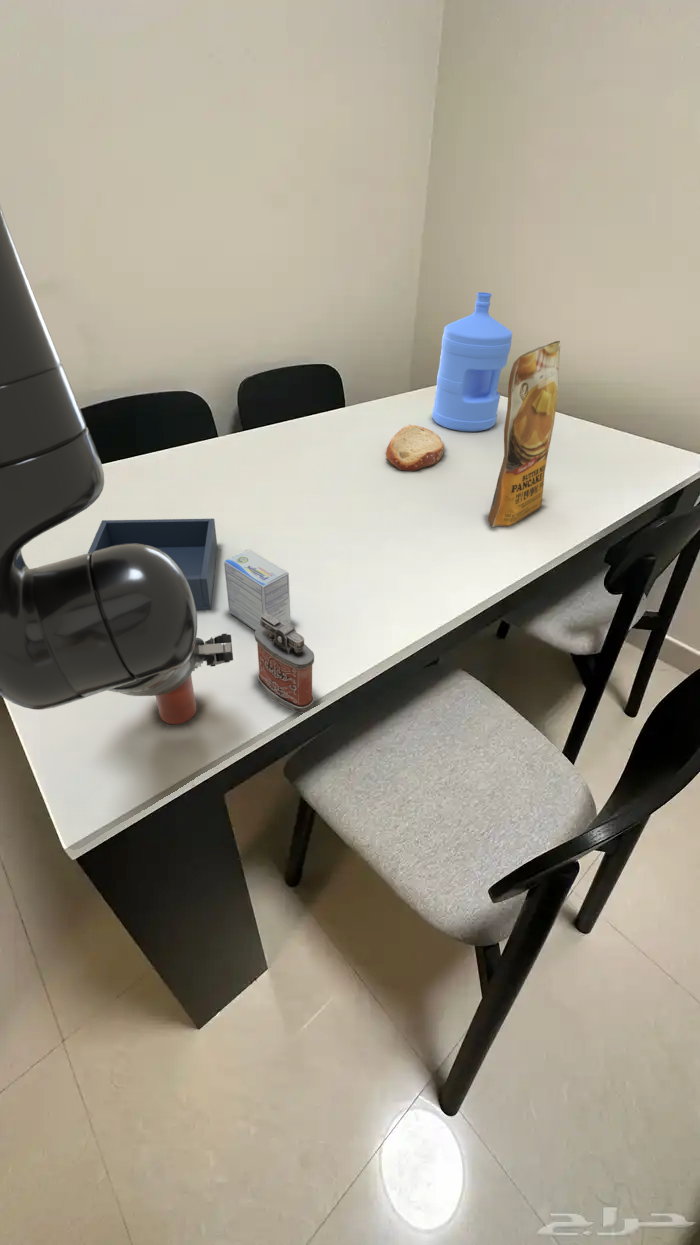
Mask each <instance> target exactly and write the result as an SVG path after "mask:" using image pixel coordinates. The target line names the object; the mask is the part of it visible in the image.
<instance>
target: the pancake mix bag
mask: <svg viewBox="0 0 700 1245" xmlns="http://www.w3.org/2000/svg"><path fill="white" fill-rule="evenodd" d="M560 343H561V341H560V340H555V341H553V342H550V343H548V344H546V345H542V346H538V347H536V348H534V349H532V350H529V351H527V352H525V353H524V354H522V355H520V356H519V357H518V358H517V359H516V360H515V361H513V363H512V367H511V370H510V372H509V373H510V374H509V378H508V387H507V389H508V391H507V407H506V414H505V419H504V420H505V421H504V428H503V459H502V463H501V466H500V470H499V475H498V478H497V482H496V485H495V490H494V494H493V498H492V502H491V506H490V508H489V509H490V510H489V513H488V517H487V518H488V519H487V522H488V523H489V525H490V526H491V528H496V527H507V528H508V527H510V526H512V525H515V524H517V523H518V522H520V521H521V520H523V519H524V518H526V517H528V516H529V515H530V514H533V513H534V512H536V511H537V510H539V509H540V508H541V507H542V501H543V496H544V495H543V494H544V485H545V475H546V474H545V473H546V467H547V463H548V462H547V461H548V455H549V450H550V446H551V443H552V442H551V441H552V435H553V430H554V426H555V418H556V411H557V406H558V396H559V382H560V380H559V378H560V377H559V373H560V372H559V370H560V352H561V351H560V350H561V345H560Z"/></svg>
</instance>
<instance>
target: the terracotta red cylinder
mask: <svg viewBox="0 0 700 1245" xmlns="http://www.w3.org/2000/svg"><path fill="white" fill-rule="evenodd" d="M155 700H156V704H157V709H158V714H159V717H160V719H161V720H162V721H163V722H164V723H166V724H169V725H180V724H185V723H186V722H188V721H189V720H191V719H192V718H193V717H194V716H195V715H196V713H197V702H196V696H195V689H194V684H193V678H192V674H191V675H190V676H189V678H188V679H187V680H186V681H185V682H184V683H183V684H182V685H181V686H179V687H178V688H176V689H175V690H173V691H171V692H168V693H166V694H162V695H157V696H155Z"/></svg>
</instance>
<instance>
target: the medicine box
mask: <svg viewBox="0 0 700 1245" xmlns="http://www.w3.org/2000/svg"><path fill="white" fill-rule="evenodd" d="M223 566H224V575H225V576H224V577H225V584H226V585H225V586H226V593H227V602H228V611H229V614H231V615H233V616H234V617H235V618H237V619H238V620H239V621H241V622H242V623H244V624H245V625H247V626H248V627H250V628H251V629H252V630H254V631H256V630H257V629H258V628H260V627H262V626H261V625H260V617H261V616H262V615H264V614H269V615H270V616H272V617H274V618H275V619H277V620H278V621H280V622H281V623H283V624H284V625H286V624H288V623H290V624H291V625H292V619H291V596H290V574H289V572H288V571H287V570H285V569H283V568H282V567H280V566H278V565H277V564H275V563H274V562H272V561H270V560H268V559H267V558H265V557H263V556H262V555H260V554H259V553H257V552H255V551H254V550H252V549H246V550H244V551H241V552H239V553H238V554H235V555H233V556H231V557H228V558H227V559H225V560H224V561H223Z"/></svg>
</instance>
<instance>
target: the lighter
mask: <svg viewBox="0 0 700 1245" xmlns="http://www.w3.org/2000/svg"><path fill="white" fill-rule="evenodd" d="M260 625H261V626H262V627H260V628H258V629H257V630H254V631H255V632H254V639H255V642H256V645H257V659H258V675H257V683H258V686H260V687H261V689H262V690H263V692H265V693H266V694H267V695H268V696H269V697H270V698H271V699H273V700H274V701H275V702H277V703H279V704H280V705H282V706H284V707H285V708H287V709H289V710H291V711H293V712H295V713H298V714H304V713H307V712H310V711H311V710H312V709H313V707H314V705H315V704H314V703H315V702H314V700H315V698H314V695H313V665H314V663H315V653H314V651H313V650H312V649H311V648H310V647H309V646H307V644H305V636H303V635H302V634H300V633H298V631H297V630H296V628H295V626H294V625H293V624H292V623H291V624H290V623H288V624H286V625H284V624H283V623H281V622H280V621H278V620H277V619H275V618H274V617H272V616H270V615H269V614H264V615H262V616H261V617H260Z"/></svg>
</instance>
